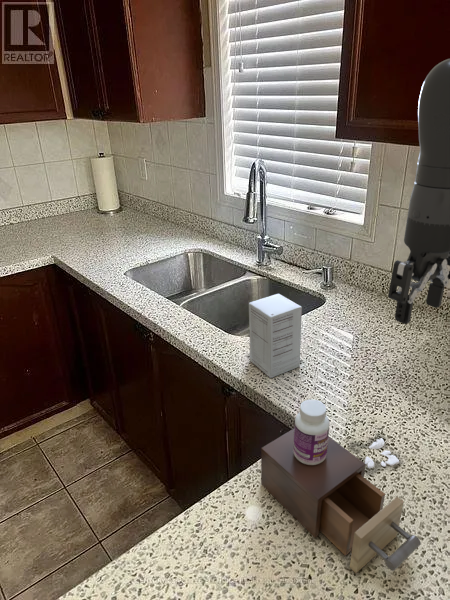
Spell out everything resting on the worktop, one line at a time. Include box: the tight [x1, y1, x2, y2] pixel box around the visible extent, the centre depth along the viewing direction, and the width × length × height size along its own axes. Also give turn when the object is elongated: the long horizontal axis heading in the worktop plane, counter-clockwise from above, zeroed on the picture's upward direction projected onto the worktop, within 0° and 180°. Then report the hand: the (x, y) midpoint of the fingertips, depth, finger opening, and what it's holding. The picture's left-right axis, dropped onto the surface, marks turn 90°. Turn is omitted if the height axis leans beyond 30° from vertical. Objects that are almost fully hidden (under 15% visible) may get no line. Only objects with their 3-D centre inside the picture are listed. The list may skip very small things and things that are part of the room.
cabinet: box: [260, 427, 367, 538], centre depth 74 cm, size 13×11×10 cm
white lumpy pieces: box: [364, 437, 400, 469], centre depth 83 cm, size 8×7×2 cm
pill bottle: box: [293, 399, 330, 465], centre depth 70 cm, size 5×5×10 cm
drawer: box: [319, 473, 422, 574], centre depth 67 cm, size 16×10×8 cm, turn 36°
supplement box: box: [248, 293, 303, 379], centre depth 109 cm, size 10×9×17 cm
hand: (418, 313), depth 72 cm, fingers open, 8 cm apart
